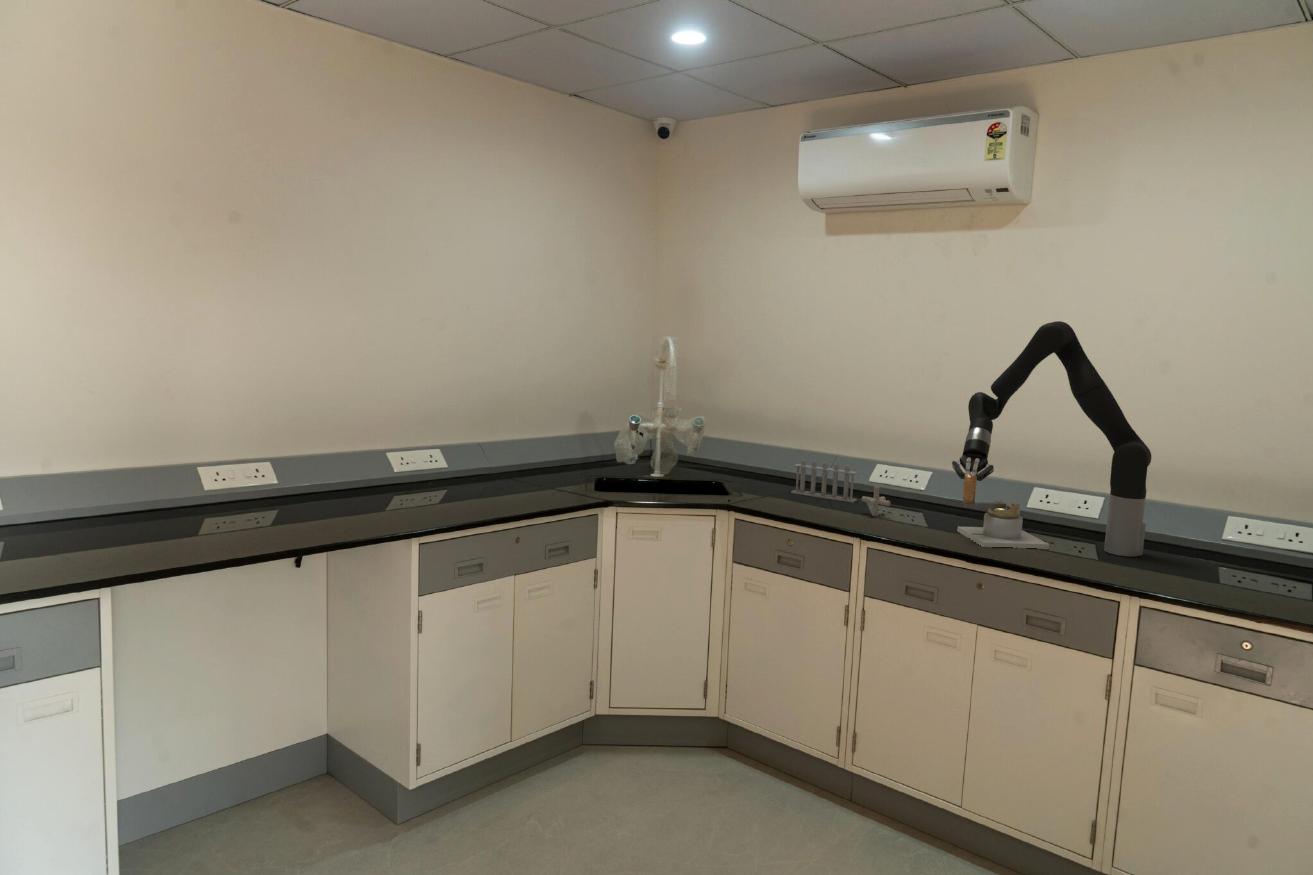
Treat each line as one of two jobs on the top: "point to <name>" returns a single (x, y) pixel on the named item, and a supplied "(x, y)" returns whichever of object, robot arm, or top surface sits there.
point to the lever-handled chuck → (993, 507)
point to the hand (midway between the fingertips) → (967, 489)
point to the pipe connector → (876, 501)
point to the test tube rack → (825, 481)
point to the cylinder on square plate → (1002, 534)
